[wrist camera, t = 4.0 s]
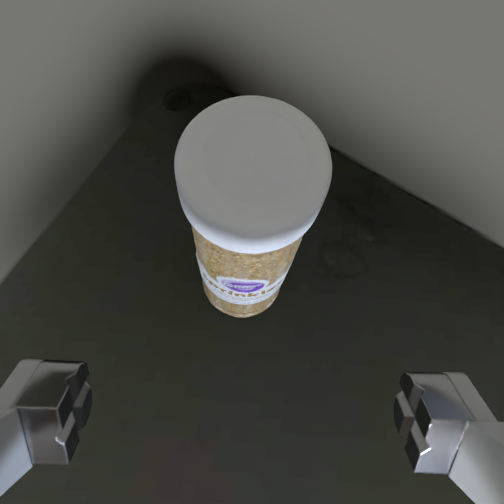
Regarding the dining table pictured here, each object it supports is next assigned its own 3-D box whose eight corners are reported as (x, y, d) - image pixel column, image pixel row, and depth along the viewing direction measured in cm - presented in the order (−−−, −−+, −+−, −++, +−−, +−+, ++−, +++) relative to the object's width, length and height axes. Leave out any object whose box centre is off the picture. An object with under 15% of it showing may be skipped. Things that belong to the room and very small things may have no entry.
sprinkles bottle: (210, 326, 24) (185, 247, 11) (196, 249, 25) (160, 100, 12) (290, 309, 24) (355, 216, 11) (272, 235, 25) (312, 78, 13)
